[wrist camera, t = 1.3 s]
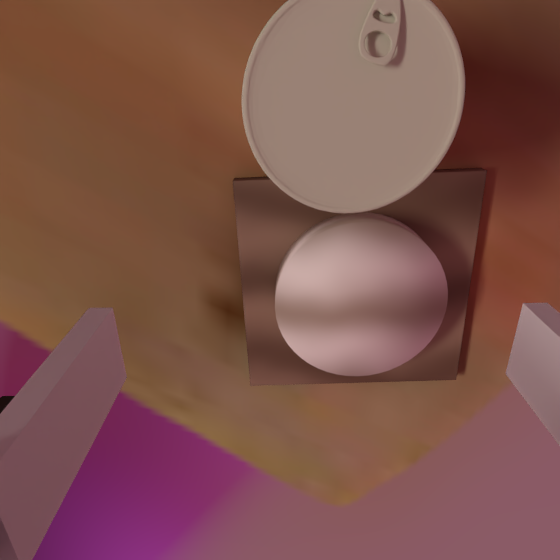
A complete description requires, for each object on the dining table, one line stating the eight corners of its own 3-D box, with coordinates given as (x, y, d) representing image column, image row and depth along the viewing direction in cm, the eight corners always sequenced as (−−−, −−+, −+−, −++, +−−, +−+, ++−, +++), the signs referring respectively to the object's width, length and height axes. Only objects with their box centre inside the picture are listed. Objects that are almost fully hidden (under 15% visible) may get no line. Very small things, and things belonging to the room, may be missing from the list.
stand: (234, 178, 30) (228, 189, 27) (480, 167, 30) (504, 177, 27) (251, 378, 37) (248, 405, 34) (451, 372, 37) (467, 399, 34)
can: (422, 43, 27) (516, 13, 16) (369, 186, 31) (416, 242, 20) (278, -6, 26) (274, -72, 15) (241, 148, 30) (216, 185, 19)
